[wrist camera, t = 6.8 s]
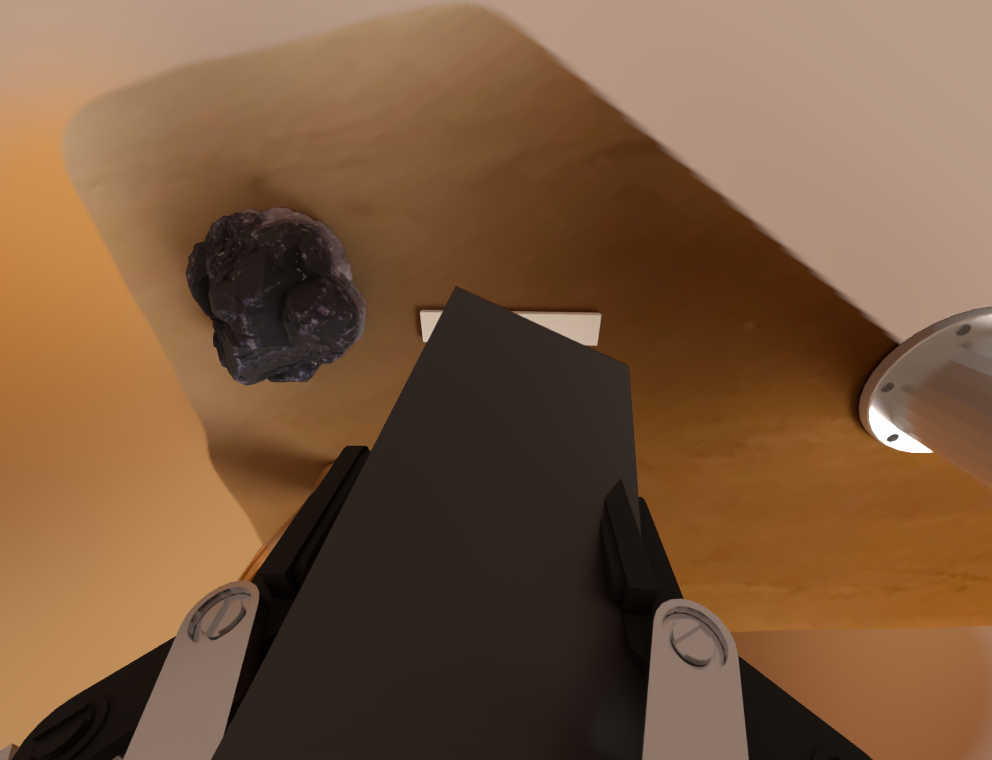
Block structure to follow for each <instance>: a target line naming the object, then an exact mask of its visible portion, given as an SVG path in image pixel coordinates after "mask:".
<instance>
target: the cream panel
mask: <svg viewBox="0 0 992 760" xmlns="http://www.w3.org/2000/svg"><path fill="white" fill-rule="evenodd" d="M442 312H443V310H421V311H420V317H421V326H422V336H423V342H427V341H428V339H429V337H430V335H431V333H432V331H433V329H434V327H435V326H436V324H437V322H438V320H439V318H440V316H441V314H442ZM511 312H514V313H516V314H518V315H520V316H522V317H524V318H527V319H529V320H531V321H533V322H535V323H537V324H540V325H542V326H544V327H546V328H548V329H550V330H552V331H555V332H557V333H559V334H561V335H563V336H565V337H568V338H570V339H572V340H574V341H576V342H578V343H581V344H583V345H597V343H598V336H599V329H600V322H601V313H593V312H530V311H511Z"/></svg>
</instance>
